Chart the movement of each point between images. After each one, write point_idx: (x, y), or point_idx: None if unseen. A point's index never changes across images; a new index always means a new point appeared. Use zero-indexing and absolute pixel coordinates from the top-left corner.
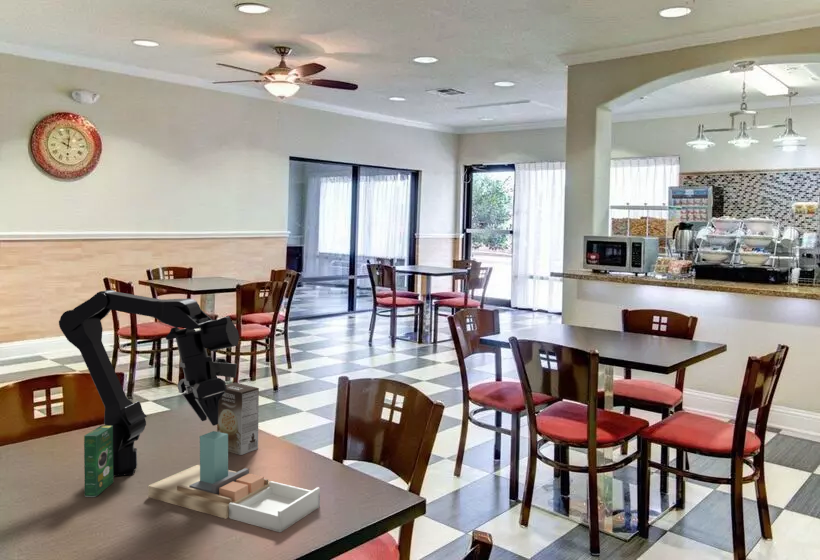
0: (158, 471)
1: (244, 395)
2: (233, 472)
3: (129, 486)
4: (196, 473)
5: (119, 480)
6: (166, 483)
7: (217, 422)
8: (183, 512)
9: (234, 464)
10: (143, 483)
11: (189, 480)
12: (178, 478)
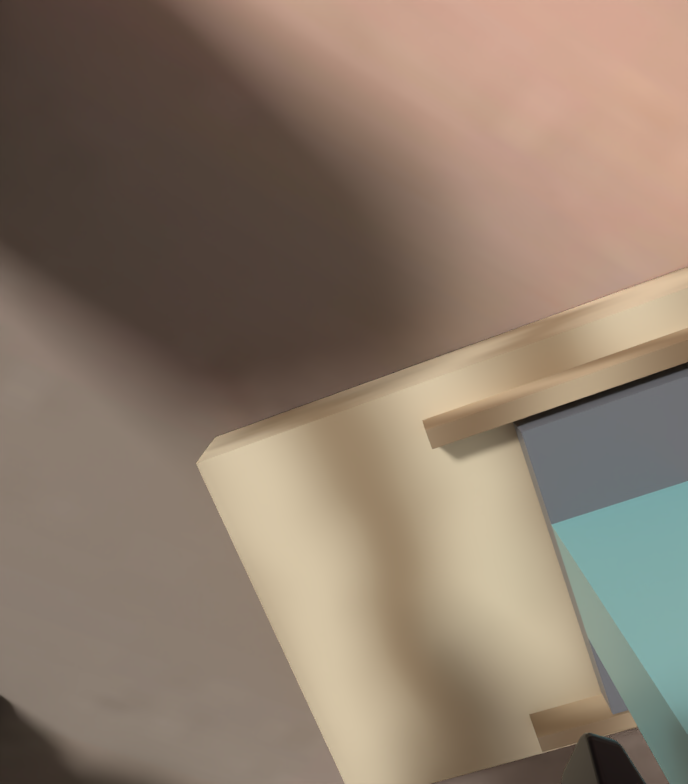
0: (15, 578)
1: None
2: (625, 400)
3: (153, 759)
4: (356, 540)
5: (40, 764)
6: (391, 728)
7: (638, 775)
8: None
9: (167, 138)
10: (153, 699)
11: (441, 620)
12: (362, 652)
